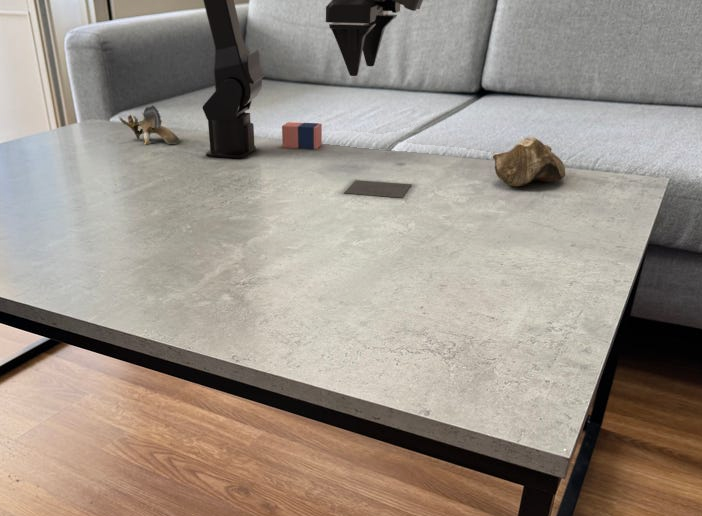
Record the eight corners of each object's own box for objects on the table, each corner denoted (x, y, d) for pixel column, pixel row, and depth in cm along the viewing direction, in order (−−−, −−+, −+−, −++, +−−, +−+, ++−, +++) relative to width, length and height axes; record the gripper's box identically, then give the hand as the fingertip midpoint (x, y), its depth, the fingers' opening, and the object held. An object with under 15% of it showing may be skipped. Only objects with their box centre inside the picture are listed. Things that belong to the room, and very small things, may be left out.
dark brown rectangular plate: (344, 193, 95) (344, 192, 95) (355, 180, 100) (355, 180, 100) (402, 198, 93) (402, 197, 92) (411, 185, 97) (411, 184, 97)
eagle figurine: (116, 140, 122) (158, 133, 117) (119, 100, 122) (161, 92, 118) (144, 155, 128) (184, 149, 124) (146, 117, 129) (187, 110, 125)
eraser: (282, 147, 118) (281, 125, 116) (288, 143, 120) (288, 121, 118) (316, 149, 116) (316, 127, 114) (321, 144, 118) (321, 123, 116)
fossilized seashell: (554, 153, 99) (483, 168, 100) (563, 118, 93) (488, 134, 94) (571, 194, 96) (497, 208, 96) (582, 160, 90) (504, 176, 91)
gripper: (411, -50, 86) (401, 84, 94) (439, -53, 101) (428, 63, 109) (325, -49, 90) (323, 80, 98) (364, -52, 104) (359, 60, 113)
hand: (362, 70), depth 104 cm, fingers open, 9 cm apart
